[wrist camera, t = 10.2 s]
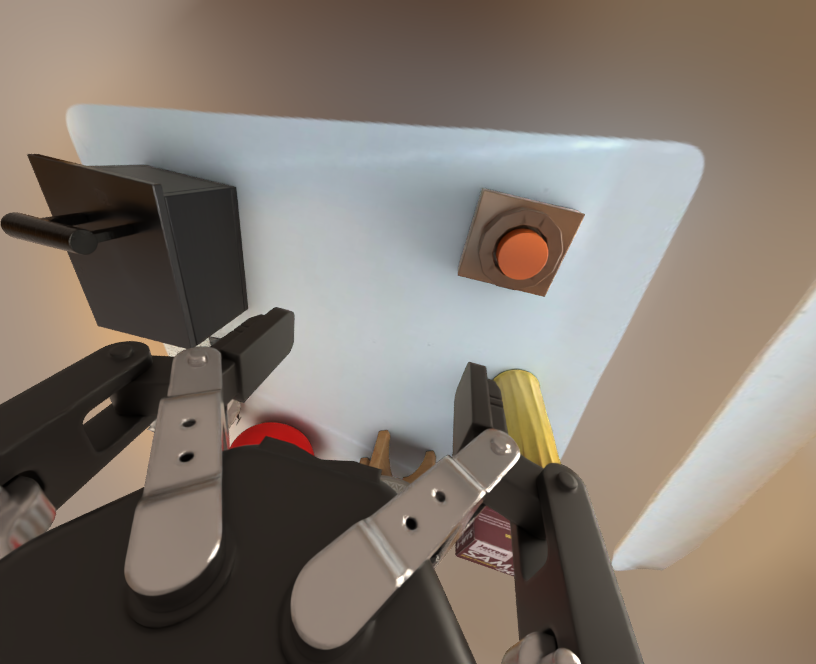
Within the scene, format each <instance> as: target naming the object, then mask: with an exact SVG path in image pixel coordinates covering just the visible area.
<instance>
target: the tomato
mask: <svg viewBox="0 0 816 664" xmlns="http://www.w3.org/2000/svg"><path fill="white" fill-rule="evenodd" d="M265 436H269V437H272V438H276V439H279V440H283V441H286V442H289V443H293V444H295V445H297V446H299V447H300V448H302V449H304V450H305V451H307V452H308V453H310V454H312V455H313V456H314V452H313V449H312V446H311V444H310V442H309V441H308V439H307V438H306V437H305V436H304V435H303V434H302V433H301V432H300V431H299V430H297V429H296V428H294V427H292V426H289V425H286V424H283V423H275V422H265V423H261V424H258V425H255V426H252V427H250V428H248V429H246V430H245V431H243V432H242V433H241V434H240V435H239V436H238V437H237V438H236V439H235V440H234V442H233V443H232V445H231V447H230V449H231V448H234V447H238V446H244V445H255V444H258V445H259V444H260V443H261V441H262V440H263V439H264V437H265Z"/></svg>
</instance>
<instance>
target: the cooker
mask: <svg viewBox="0 0 816 664" xmlns="http://www.w3.org/2000/svg"><path fill="white" fill-rule="evenodd" d="M89 167H93V168H97V169H101V170H105V171H109V172H113V173H117V174H121V175H126V176H130V177H134V178H138V179H142V180H146V181H150V182H154V183H158V184H161V185H162V189H163V193H164V198H165V203H166V207H167V212H168V217H169V221H170V226H171V230H172V235H173V240H174V244H175V249H176V253H177V258H178V263H179V267H180V272H181V277H182V281H183V286H184V290H185V295H186V300H187V304H188V309H189V313H190V318H191V323H192V327H193V332H194V337H195V341H196V345H199V344H200V343H201V342H203V341H204V340H206V339H207V338H208V337H210V336H211V335H213V334H214V333H215V332H217V331H218V330H219V329H221V328H222V327H224V326H225V325H226V324H228V323H229V322H231V321H232V320H233V319H235V318H236V317H237V316H239V315H240V314H242V313H243V312H244V311H246V310H247V309H248V303H247V293H246V283H245V273H244V263H243V253H242V243H241V233H240V222H239V212H238V202H237V192H236V187H234V186H229V185H225V184H221V183H217V182H213V181H209V180H205V179H201V178H197V177H193V176H188V175H184V174H180V173H176V172H172V171H168V170H164V169H160V168H156V167H152V166H147V165H110V166H89Z"/></svg>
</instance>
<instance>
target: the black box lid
mask: <svg viewBox="0 0 816 664" xmlns="http://www.w3.org/2000/svg"><path fill="white" fill-rule="evenodd" d="M27 156H28V158H29V161H30V163H31V165H32V168H33V170H34V173H35V175H36V177H37V180H38V182H39V185H40V187H41V190H42V192H43V194H44V197H45V199H46V202H47V204H48V206H49V209H50V211H51V214H52V217H46V218H38V217H34V216H30V215H26V214H22V213H9V214H6V215H5V216H3V218H2V219H1V227H2V229H3V230H4V232H5V233H6V234H8V235H9V236H11V237H14V238H17V239H21V240H25V241H29V242H33V243H37V244H41V245H45V246H49V247H53V248H57V249H61V250H65V251H67V252H68V255H69V257H70V260H71V262H72V264H73V267H74V269H75V272H76V274H77V277H78V279H79V281H80V284H81V286H82V289H83V291H84V293H85V296H86V298H87V300H88V303H89V306H90V308H91V310H92V313H93V315H94V318H95V320H96V322H97V325H98V326H100V327H104V328H108V329H112V330H116V331H120V332H124V333H128V334H131V335H135V336H139V337H143V338H147V339H151V340H154V341H159V342H162V343H166V344H170V345H174V346H178V347H182V348H185V349H189V348H193V347H196V341H195V337H194V332H193V327H192V323H191V318H190V313H189V309H188V304H187V300H186V295H185V290H184V286H183V281H182V277H181V272H180V267H179V263H178V258H177V253H176V249H175V244H174V240H173V235H172V230H171V226H170V221H169V217H168V212H167V207H166V203H165V198H164V193H163V189H162V185H161V184H158V183H154V182H150V181H146V180H142V179H138V178H134V177H130V176H126V175H121V174H117V173H113V172H109V171H105V170H101V169H97V168H93V167H89V166H85V165H81V164H76V163H72V162H68V161H64V160H60V159H56V158H52V157H48V156H44V155H40V154H28V155H27Z"/></svg>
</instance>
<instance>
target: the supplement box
mask: <svg viewBox="0 0 816 664" xmlns="http://www.w3.org/2000/svg"><path fill="white" fill-rule="evenodd" d="M455 555H456V556H457V557H460V558H463V559H466V560H469V561H471V562H474V563H477V564H480V565H483V566H486V567H488V568H492V569H494V570H497V571H500V572H503V573H506V574H509V575H512V576H514V567H513V554H512V541H511V528H510V520H508V519H506V518H505V517H503V516H502V515H500V514H499V513H497V512H496V511H494V510H493V509H491V508H489V507H488V506H486V507H485V508H484V510H483V511H482V512H481V513H480V514H479V515H478V517H477V518H476V519H475V520H474V521H473V522H472V524H471V525H470V526H469V527H468V528H467V529H466V531H465V532H464V533H463V534H462V535H461V536H460V538H459V539H458V540H457V541H456V553H455Z"/></svg>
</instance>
